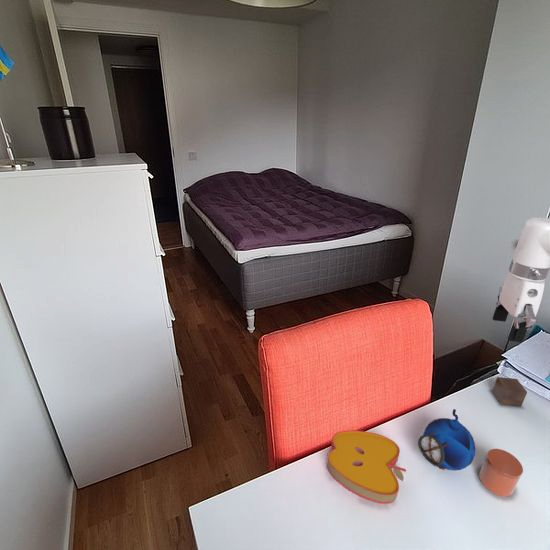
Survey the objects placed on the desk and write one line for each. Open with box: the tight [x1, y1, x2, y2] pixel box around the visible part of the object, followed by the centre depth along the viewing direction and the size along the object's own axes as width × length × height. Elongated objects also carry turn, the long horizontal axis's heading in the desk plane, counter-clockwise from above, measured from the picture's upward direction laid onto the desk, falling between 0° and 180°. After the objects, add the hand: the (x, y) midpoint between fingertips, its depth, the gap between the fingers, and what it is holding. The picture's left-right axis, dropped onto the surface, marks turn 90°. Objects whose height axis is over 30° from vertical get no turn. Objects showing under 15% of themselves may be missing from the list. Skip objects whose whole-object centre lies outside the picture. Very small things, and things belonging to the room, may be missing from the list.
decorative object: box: [326, 429, 407, 505], centre depth 70 cm, size 14×4×15 cm
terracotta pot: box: [478, 448, 524, 498], centre depth 68 cm, size 6×6×6 cm
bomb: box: [417, 408, 477, 471], centre depth 70 cm, size 10×11×15 cm
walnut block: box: [491, 376, 528, 408], centre depth 90 cm, size 5×5×5 cm
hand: (506, 330), depth 89 cm, fingers open, 9 cm apart
